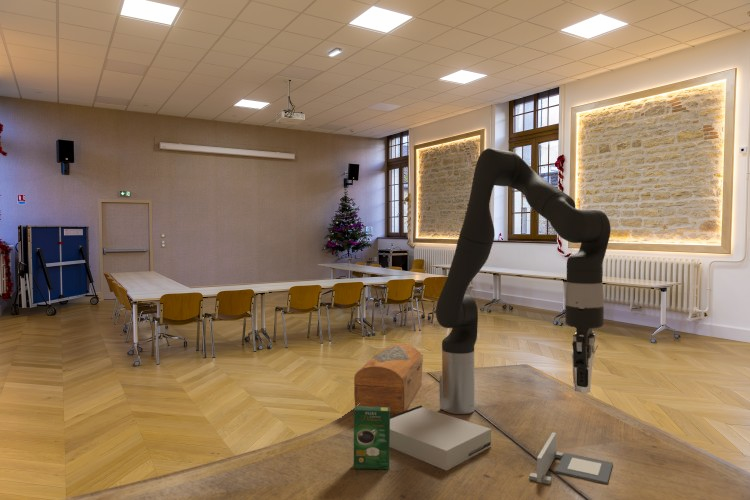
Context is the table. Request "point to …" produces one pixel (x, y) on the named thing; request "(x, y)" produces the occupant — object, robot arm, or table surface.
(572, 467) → the mat
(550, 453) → the divider wall
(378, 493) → the table surface
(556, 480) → the table surface
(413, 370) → the wooden box
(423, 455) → the disc drive
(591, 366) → the milkshake
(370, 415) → the coffee box
